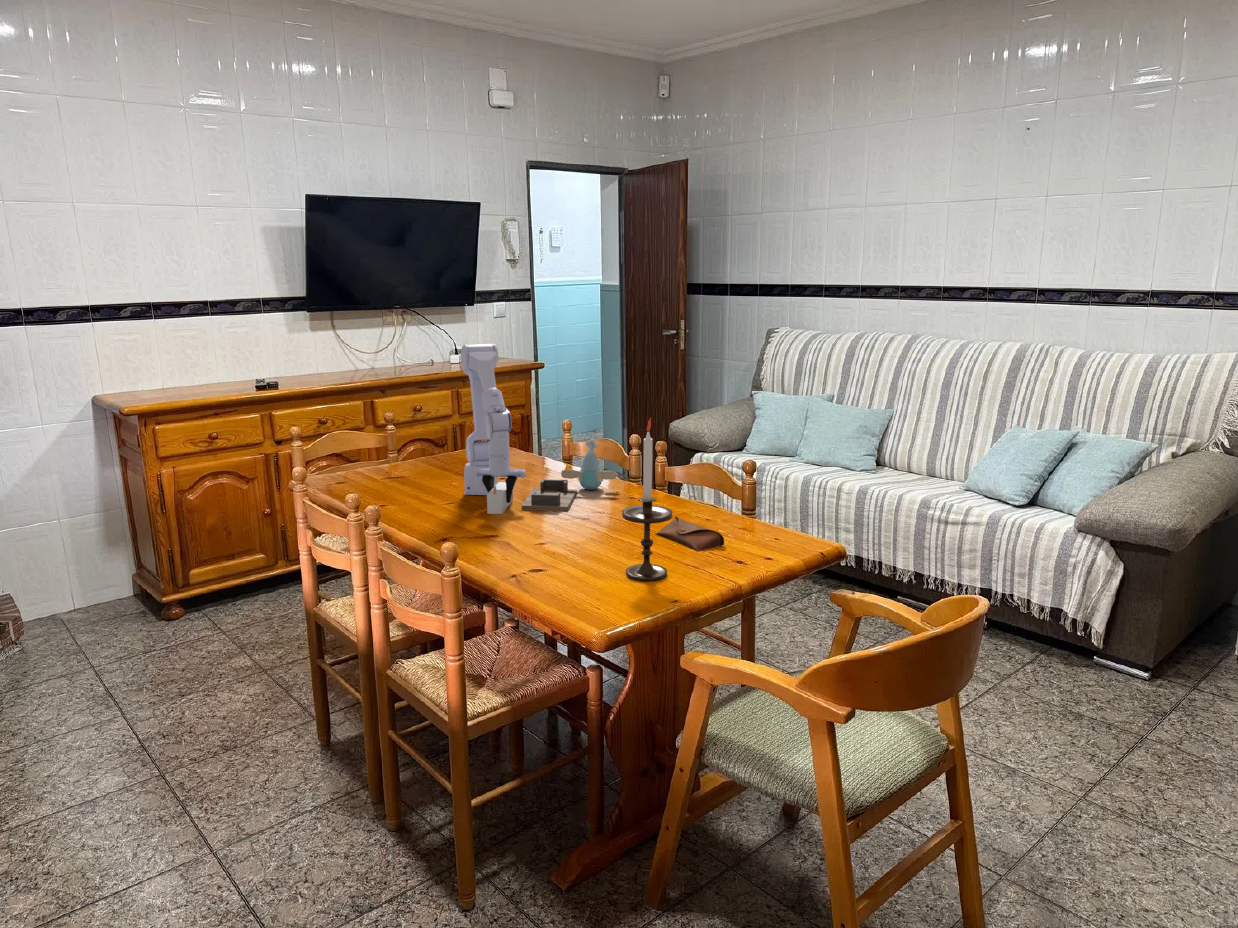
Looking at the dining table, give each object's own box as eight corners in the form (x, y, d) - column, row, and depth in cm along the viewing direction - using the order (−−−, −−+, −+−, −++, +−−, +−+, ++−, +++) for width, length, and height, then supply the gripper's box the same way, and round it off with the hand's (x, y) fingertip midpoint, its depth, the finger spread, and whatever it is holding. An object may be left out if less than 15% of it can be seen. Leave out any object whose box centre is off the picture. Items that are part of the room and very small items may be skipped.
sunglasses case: (651, 533, 218) (661, 509, 219) (669, 542, 222) (679, 519, 223) (699, 552, 204) (710, 526, 205) (717, 561, 208) (728, 536, 209)
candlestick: (647, 562, 196) (649, 411, 189) (681, 575, 189) (684, 418, 181) (611, 573, 190) (612, 417, 182) (645, 587, 182) (647, 424, 174)
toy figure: (619, 485, 266) (619, 438, 263) (616, 494, 256) (616, 445, 252) (566, 484, 268) (565, 437, 264) (560, 492, 257) (560, 443, 254)
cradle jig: (567, 510, 238) (567, 496, 237) (521, 509, 239) (521, 494, 238) (576, 493, 257) (576, 479, 256) (534, 492, 258) (533, 478, 257)
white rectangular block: (502, 514, 235) (501, 487, 233) (487, 513, 235) (486, 487, 234) (512, 500, 249) (512, 475, 247) (499, 500, 249) (498, 475, 247)
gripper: (469, 457, 236) (471, 504, 239) (522, 458, 234) (523, 506, 237) (476, 451, 242) (477, 498, 245) (527, 452, 241) (527, 499, 244)
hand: (500, 501), depth 242 cm, fingers closed on white rectangular block, 4 cm apart
